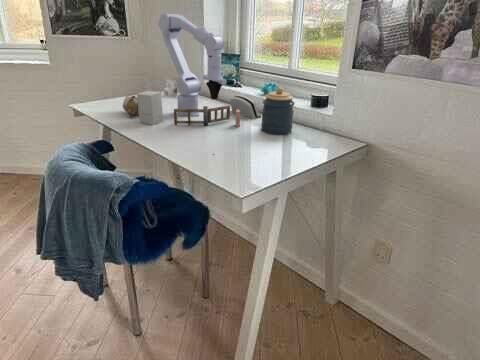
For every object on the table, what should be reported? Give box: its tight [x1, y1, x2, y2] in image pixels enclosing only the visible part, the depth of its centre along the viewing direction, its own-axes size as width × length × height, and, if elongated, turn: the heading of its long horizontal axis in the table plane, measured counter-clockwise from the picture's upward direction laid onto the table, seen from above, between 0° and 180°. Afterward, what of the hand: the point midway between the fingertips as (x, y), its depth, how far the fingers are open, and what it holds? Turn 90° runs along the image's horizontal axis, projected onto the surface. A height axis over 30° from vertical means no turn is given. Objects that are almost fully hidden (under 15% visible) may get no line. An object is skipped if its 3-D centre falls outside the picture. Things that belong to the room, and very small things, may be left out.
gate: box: [208, 105, 231, 124], centre depth 154 cm, size 11×1×6 cm, turn 129°
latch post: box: [235, 110, 241, 128], centre depth 152 cm, size 2×4×6 cm, turn 4°
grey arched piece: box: [229, 94, 262, 120], centre depth 168 cm, size 17×5×10 cm, turn 38°
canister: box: [260, 87, 296, 136], centre depth 145 cm, size 13×13×18 cm
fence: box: [173, 108, 204, 126], centre depth 150 cm, size 12×1×7 cm, turn 94°
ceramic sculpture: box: [122, 95, 139, 117], centre depth 163 cm, size 11×9×15 cm
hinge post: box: [202, 105, 209, 127], centre depth 150 cm, size 2×2×8 cm
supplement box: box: [136, 90, 164, 126], centre depth 151 cm, size 7×7×13 cm
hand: (214, 98), depth 156 cm, fingers closed
